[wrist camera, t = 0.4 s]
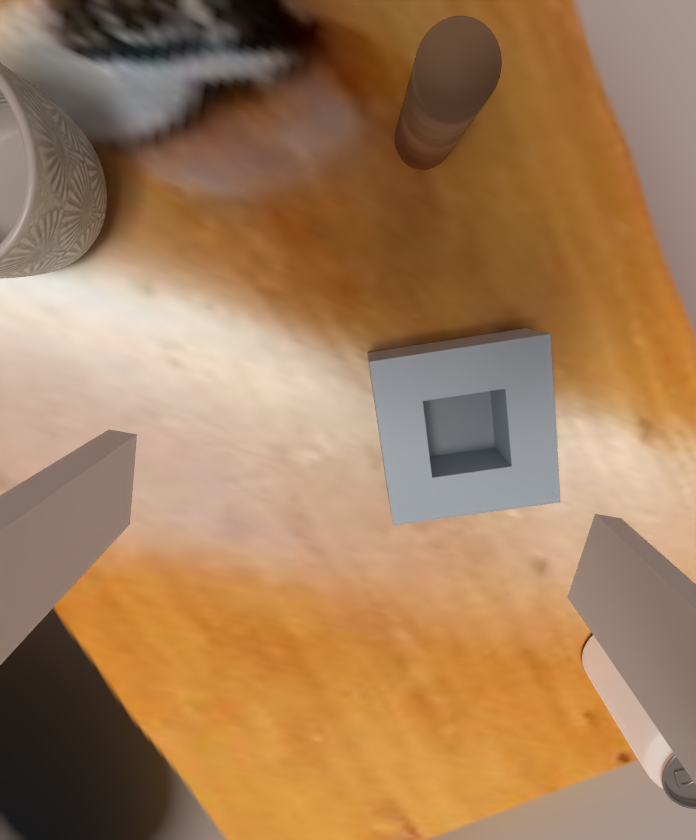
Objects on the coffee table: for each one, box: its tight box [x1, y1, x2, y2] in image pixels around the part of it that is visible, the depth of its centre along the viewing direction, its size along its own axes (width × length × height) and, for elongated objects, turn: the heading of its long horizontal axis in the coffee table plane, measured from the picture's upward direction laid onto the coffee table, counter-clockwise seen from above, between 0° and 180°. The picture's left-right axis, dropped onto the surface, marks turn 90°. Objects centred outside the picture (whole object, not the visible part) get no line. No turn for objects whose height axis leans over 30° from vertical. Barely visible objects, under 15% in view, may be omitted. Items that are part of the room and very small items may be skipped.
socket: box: [367, 328, 560, 525], centre depth 38 cm, size 12×12×5 cm
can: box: [582, 635, 696, 809], centre depth 40 cm, size 6×6×12 cm
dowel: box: [395, 16, 501, 170], centre depth 30 cm, size 4×4×12 cm
